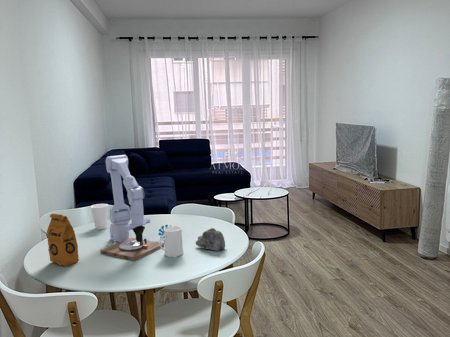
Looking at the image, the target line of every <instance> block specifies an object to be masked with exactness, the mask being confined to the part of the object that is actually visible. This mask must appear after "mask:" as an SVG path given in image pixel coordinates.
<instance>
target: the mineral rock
mask: <svg viewBox="0 0 450 337" xmlns="http://www.w3.org/2000/svg"><path fill="white" fill-rule="evenodd" d="M195 245H196V246H198V247H199V248H201V249H206V250H207V249H208V250H211V251H217V252H218V251H219V252H220V251H222V250H224V249H225V248H226V240H225V236H224V234H223V233H222V232H221V230H216V229H215V228H214V227H212V228H211V227H210V228H209V229H207V230H205V231H203V233H202V235H199V236H198V237H197V240H196V241H195Z"/></svg>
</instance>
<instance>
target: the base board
mask: <svg viewBox="0 0 450 337" xmlns="http://www.w3.org/2000/svg"><path fill="white" fill-rule="evenodd" d="M131 237H132V236H130V238H128V239H126V240H123V241H121V242H116V243H113V244H111V245H110V246H106V247H104V248H102V249H100V250H99V252H100V254H103V255H108V256H113V257H117V258H120V259H126V260H129V261H132V262H133V261H134V262H136V261H138V260H140V259H142V258H144V257H146V256H147V255H150V254H152V253H154V252H156V251H158V250H161V247H160V242H157V241H153V240H152V241H151V240H148V239H147V238H143V241H144V242H145V245H148V247H147V248H141V249H138V250H132V251H125V250H121V249H120V247H119V245H120V244H121V243H123V242H126V241H130V240H136V237H133V238H131ZM161 246H162V248H165V242H161Z"/></svg>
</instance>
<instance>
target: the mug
mask: <svg viewBox="0 0 450 337" xmlns="http://www.w3.org/2000/svg"><path fill="white" fill-rule="evenodd" d="M182 230H183V229H182V227H181V226H179V225H177V226H176V225H171V226H170V225H169V226H168V227H164V235H163V236H162V235H161V236H162V237H161V236H160V237H161V238H160V239H159V243H160V247H161V248H160V250H161V249H162V250H163V251H164V255H165V257H168V258H177V257H180V256H183V254H184V250H183V248H184V247H183V233H182ZM163 237H164V238H163ZM162 240H163V243H164V247H162V246H161V243H162Z"/></svg>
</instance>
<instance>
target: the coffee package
mask: <svg viewBox="0 0 450 337" xmlns="http://www.w3.org/2000/svg"><path fill="white" fill-rule="evenodd" d="M49 218H50V222H49V224H48V228H47V230H46V237H47V245H48V249H47V250H48V254H49V255H48V256H49V261H50V262H52V263H55V264H56V265H57V264H58V265H59V266H62V267H68V266H72V265H74V264H78V261H79V262H80V258H79V248H78V247H79V246H78V242H77V237H76V234H75V233H76V232H75V230H74V227H73V226H72V224H71V222H70V220H69V218H68V216H66V215H63V214H60V213H57V214H56V213H51V214H50V215H49ZM71 264H72V265H71Z"/></svg>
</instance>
